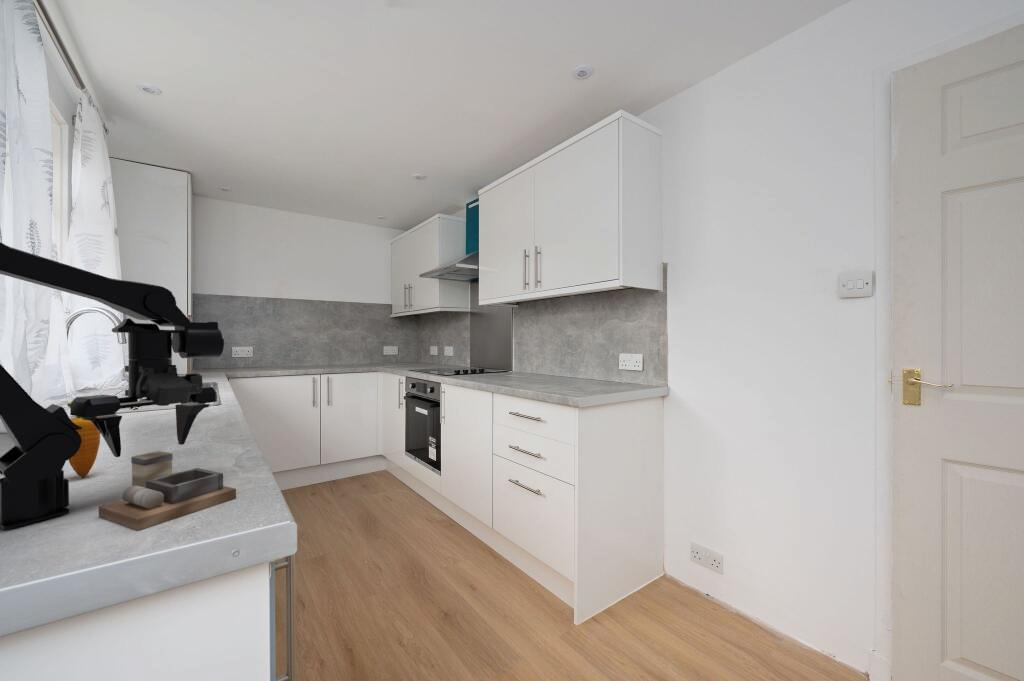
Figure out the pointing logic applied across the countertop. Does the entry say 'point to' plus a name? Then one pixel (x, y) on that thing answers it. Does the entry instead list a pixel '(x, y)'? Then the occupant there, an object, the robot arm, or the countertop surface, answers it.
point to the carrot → (85, 446)
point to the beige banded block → (150, 467)
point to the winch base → (168, 498)
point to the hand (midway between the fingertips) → (151, 450)
